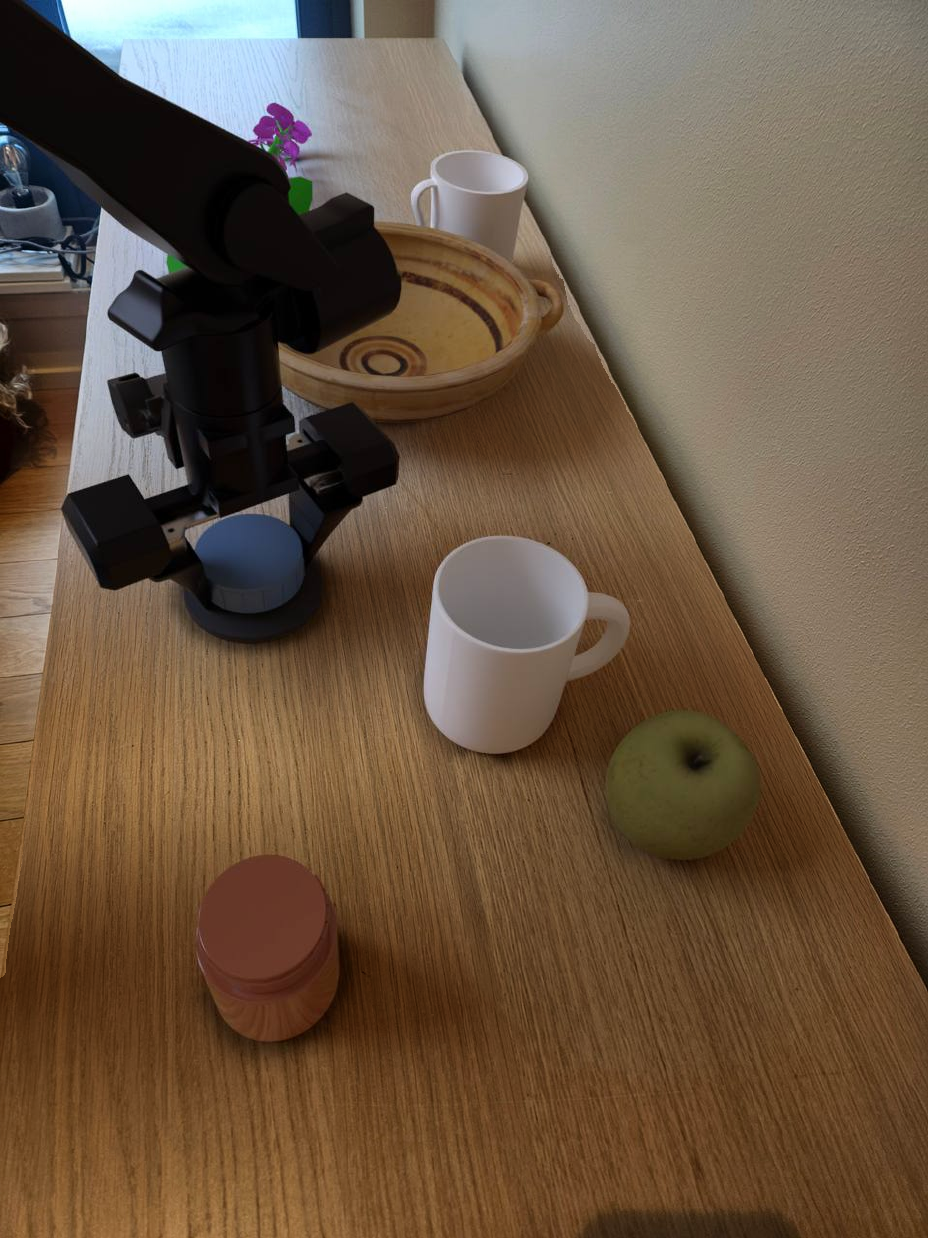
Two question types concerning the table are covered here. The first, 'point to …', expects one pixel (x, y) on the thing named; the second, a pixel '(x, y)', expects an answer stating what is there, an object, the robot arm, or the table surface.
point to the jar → (268, 947)
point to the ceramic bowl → (430, 333)
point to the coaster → (261, 613)
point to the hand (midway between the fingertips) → (253, 584)
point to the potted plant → (284, 133)
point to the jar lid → (251, 562)
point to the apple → (682, 785)
